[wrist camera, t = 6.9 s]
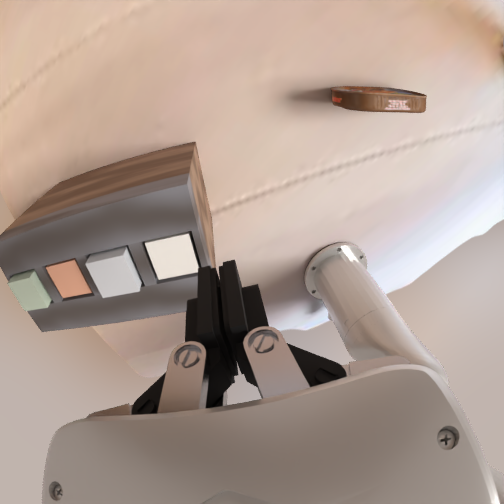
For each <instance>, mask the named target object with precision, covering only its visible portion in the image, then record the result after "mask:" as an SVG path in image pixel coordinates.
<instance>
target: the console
mask: <svg viewBox="0 0 504 504" xmlns="http://www.w3.org/2000/svg"><path fill="white" fill-rule="evenodd" d="M188 231H192V234H193V238H194V241H195V245H196V249H197V252H198V256H199V259H200V268H201V267H205V266H209V265H210V266H211V268H216V264H215V253H214V240H213V227H212V217H211V213H210V208H209V204H208V199H207V195H206V190H205V185H204V181H203V176H202V171H201V166H200V162H199V157H198V152H197V147H196V142H192V143H188V144H183V145H179V146H175V147H171V148H167V149H163V150H159V151H155V152H151V153H147V154H144V155H140V156H137V157H133V158H130V159H126V160H123V161H120V162H117V163H113V164H110V165H107V166H104V167H101V168H98V169H95V170H92V171H89V172H87V173H84V174H81V175H78V176H76V177H73V178H70V179H68V180H65V181H62V182H60V183H59V184H57V185H56V186H55V187H54V188H52V189H51V190H50V191H49V192H47V193H46V194H45V195H44V196H42V197H41V198H40V199H39V200H38V201H37V202H35V203H34V204H33V205H32V206H31V207H30V208H29V209H27V210H26V211H25V212H24V213H23V214H22V215H21V216H20V217H19V218H18V219H16V220H15V221H14V222H13V223H12V224H11V225H10V226H9V227H8V228H7V229H6V230H5V231H4V232H3V233H2V234H1V235H0V267H1V269H2V271H3V272H4V274H5V276H6V278H7V280H8V281H9V280H10V279H11V278H12V276H13V275H14V274H17V273H20V272H24V271H27V270H31V269H35V271H36V273H37V275H38V276H39V278H40V280H41V282H42V283H43V285H44V287H45V289H46V290H47V292H48V294H49V295H50V297H51V299H52V300H51V302H50V304H49V306H48V308H42V309H36V310H30V311H27V312H28V313H29V314H30V316H31V317H32V319H33V320H34V322H35V323H36V324H37V326H38V327H39V329H40V330H41V331H42V332H46V331H55V330H64V329H72V328H81V327H89V326H96V325H104V324H111V323H118V322H125V321H131V320H138V319H144V318H150V317H157V316H163V315H169V314H175V313H180V312H186V309H187V300H189V299H193V298H197V287H198V272H196V273H191V274H186V275H181V276H176V277H171V278H165V279H160V280H159V279H158V277H157V274H156V272H155V269H154V267H153V264H152V261H151V259H150V256H149V254H148V251H147V248H146V245H145V241H147V240H151V239H156V238H160V237H165V236H169V235H174V234H178V233H183V232H188ZM125 245H128V246H129V249H130V251H131V254H132V256H133V259H134V261H135V264H136V266H137V268H138V271H139V273H140V275H141V278H142V283H141V287H140V291H139V292H134V293H128V294H123V295H117V296H112V297H106V298H103V297H102V295H101V293H100V292H99V290H98V288H97V286H96V284H95V282H94V280H93V278H92V276H91V274H90V272H89V270H88V268H87V266H86V262H87V260H88V258H89V256H90V255H91V254H92V253H96V252H100V251H104V250H108V249H113V248H117V247H121V246H125ZM72 258H76V260H77V262H78V264H79V266H80V268H81V270H82V272H83V274H84V276H85V278H86V280H87V282H88V284H89V286H90V288H91V289H92V293H87V294H82V295H77V296H71V297H66V298H63V297H62V296H61V294H60V292H59V291H58V289H57V287H56V285H55V284H54V282H53V280H52V278H51V277H50V275H49V273H48V271H47V269H46V266H47V265H49V264H53V263H57V262H61V261H65V260H68V259H72Z"/></svg>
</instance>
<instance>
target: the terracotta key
mask: <svg viewBox="0 0 504 504" xmlns="http://www.w3.org/2000/svg"><path fill="white" fill-rule="evenodd" d="M46 269H47V271H48V273H49V275H50V277H51V278H52V280H53V282H54V284H55V285H56V287H57V289H58V291H59V292H60V294H61V296H62V297H63V298H66V297H71V296H77V295H82V294H87V293H92V289H91V288H90V286H89V284H88V282H87V280H86V278H85V276H84V274H83V272H82V270H81V268H80V266H79V264H78V262H77V260H76V258H72V259H68V260H65V261H61V262H57V263H53V264H49V265H47V266H46Z"/></svg>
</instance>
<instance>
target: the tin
mask: <svg viewBox="0 0 504 504" xmlns="http://www.w3.org/2000/svg"><path fill="white" fill-rule="evenodd" d="M331 90H332V101H333V105H336V106H340V107H342V108H345V109H349V110H357V111H369V112H408V113H422V112H425V110H426V97H427V96H426V95H424V94H421V93H417V92H412V91H407V90H402V89H394V88H382V87H355V86H343V87H333V88H331Z"/></svg>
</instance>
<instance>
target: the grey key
mask: <svg viewBox="0 0 504 504" xmlns="http://www.w3.org/2000/svg"><path fill="white" fill-rule="evenodd" d="M86 266H87V268H88V270H89V272H90V274H91V276H92V278H93V280H94V282H95V284H96V286H97V288H98V290H99V292H100V293H101V295H102V297H103V298H106V297H112V296H117V295H123V294H128V293H134V292H139V291H140V287H141V283H142V278H141V275H140V273H139V271H138V268H137V266H136V264H135V261H134V259H133V256H132V254H131V251H130V249H129V246H128V245H125V246H121V247H117V248H113V249H108V250H104V251H100V252H96V253H92V254H91V255H90V256H89V258H88V260H87V262H86Z"/></svg>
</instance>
